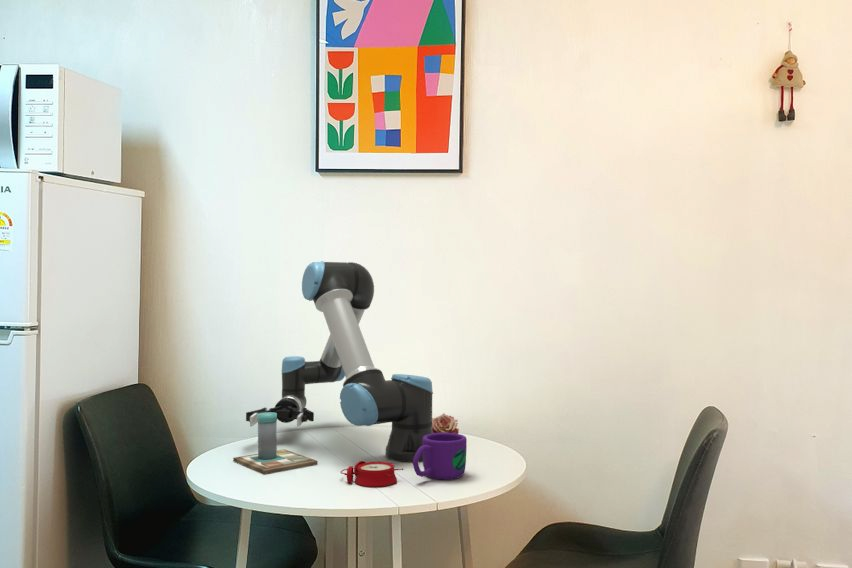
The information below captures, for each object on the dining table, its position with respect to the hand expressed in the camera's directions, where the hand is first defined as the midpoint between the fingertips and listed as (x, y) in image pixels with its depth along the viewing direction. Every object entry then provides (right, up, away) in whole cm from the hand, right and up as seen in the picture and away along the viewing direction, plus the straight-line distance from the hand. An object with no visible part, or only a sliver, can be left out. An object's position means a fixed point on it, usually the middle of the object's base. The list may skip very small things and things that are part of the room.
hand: (274, 421), depth 204 cm
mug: (+47, -10, -25) cm, 53 cm away
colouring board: (+2, -9, -10) cm, 14 cm away
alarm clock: (+30, -10, -28) cm, 42 cm away
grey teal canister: (0, -8, -10) cm, 12 cm away
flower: (+50, -10, +18) cm, 54 cm away
